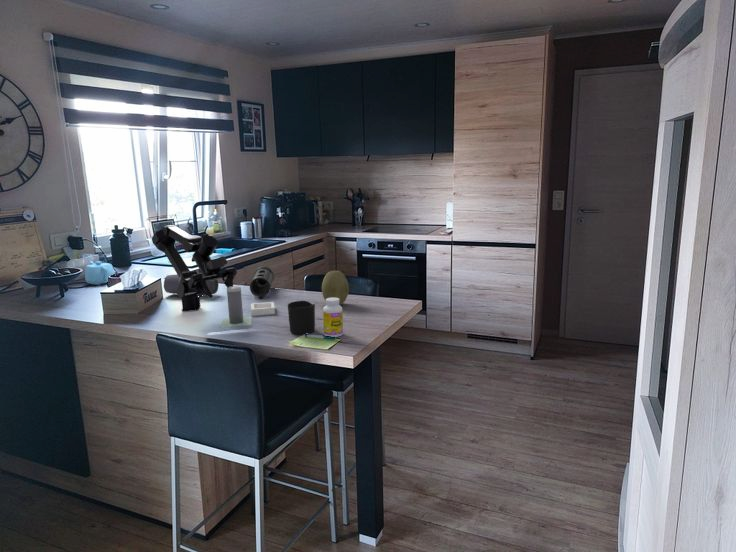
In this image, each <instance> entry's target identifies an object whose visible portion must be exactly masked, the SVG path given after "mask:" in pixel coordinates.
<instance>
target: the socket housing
mask: <svg viewBox="0 0 736 552" xmlns="http://www.w3.org/2000/svg"><path fill="white" fill-rule="evenodd" d="M250 312H251V313H250V314H251V316H252V317H253V316H268V315H276V307H275V302H274V301H269V302H268V301H267V302H257V303H255V302H253V303H250ZM251 316H250V317H251Z"/></svg>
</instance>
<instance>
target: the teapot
mask: <svg viewBox="0 0 736 552" xmlns="http://www.w3.org/2000/svg"><path fill="white" fill-rule="evenodd" d="M89 263H90V264H88V265H85V270H84V271H85V272H84V278H85V281H86V283H87V284H90V285H95V286H101V284H108V283H107V280H108V277H109V276H110V275H112V274H115V275H116V273H115V270H114V266H113V265H112V264H111V263H108V262H102V261H101V260H100V261H95V262H94V261H92V260H90V261H89Z"/></svg>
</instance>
